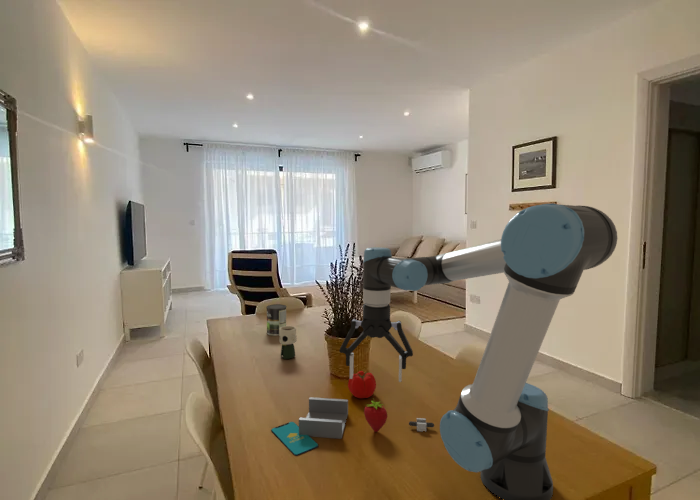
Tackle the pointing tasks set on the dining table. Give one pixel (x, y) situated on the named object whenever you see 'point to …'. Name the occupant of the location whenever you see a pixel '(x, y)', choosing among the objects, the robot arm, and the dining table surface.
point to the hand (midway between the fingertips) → (375, 378)
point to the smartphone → (294, 438)
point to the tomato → (362, 385)
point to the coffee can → (275, 318)
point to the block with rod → (421, 424)
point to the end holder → (324, 418)
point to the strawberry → (375, 415)
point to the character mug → (287, 341)
